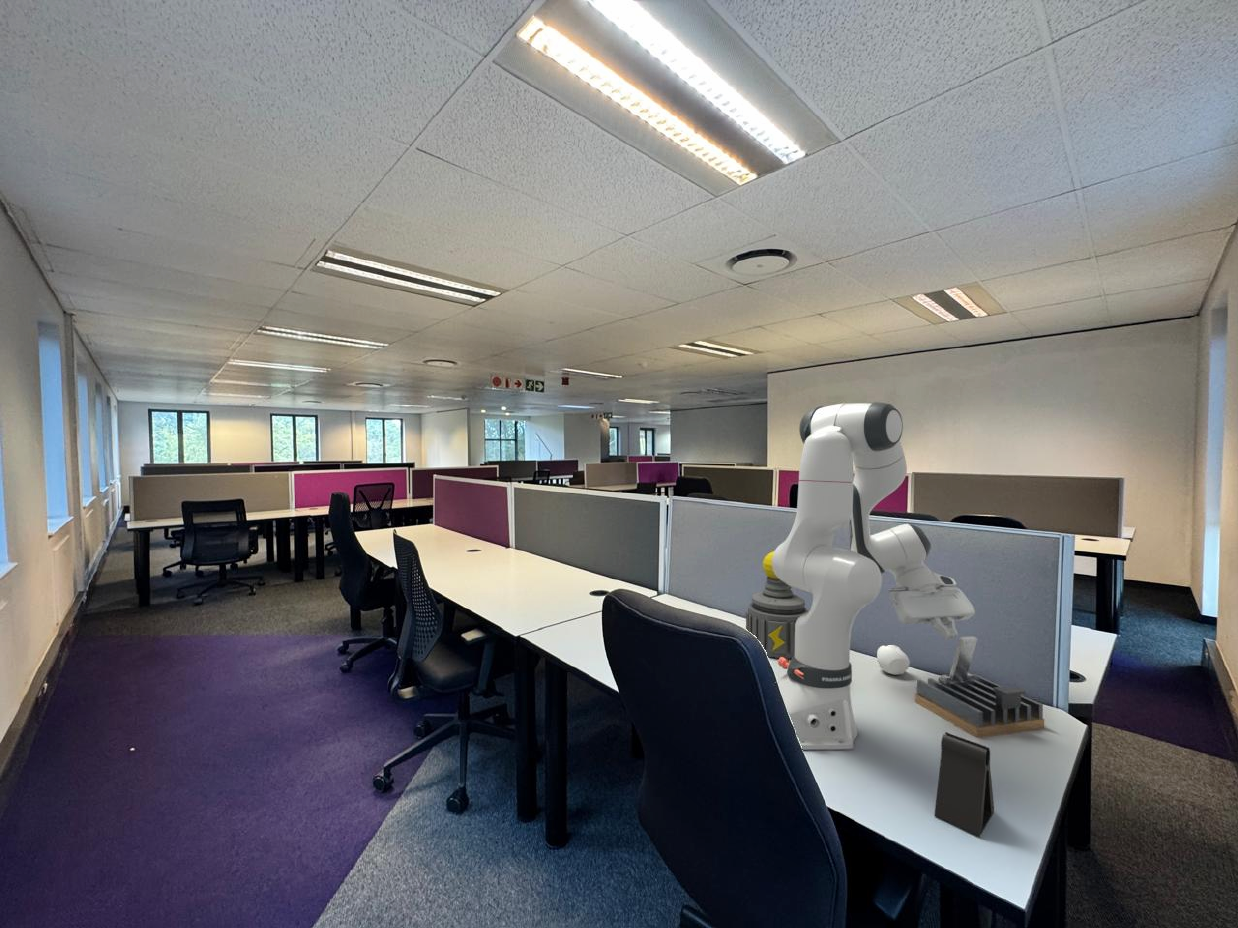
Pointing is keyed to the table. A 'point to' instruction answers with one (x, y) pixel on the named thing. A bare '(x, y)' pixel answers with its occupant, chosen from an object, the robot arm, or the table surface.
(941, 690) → the heat sink
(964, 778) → the black coffee bag
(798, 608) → the tesla coil
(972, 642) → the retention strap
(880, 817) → the table surface
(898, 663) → the motion sensor
